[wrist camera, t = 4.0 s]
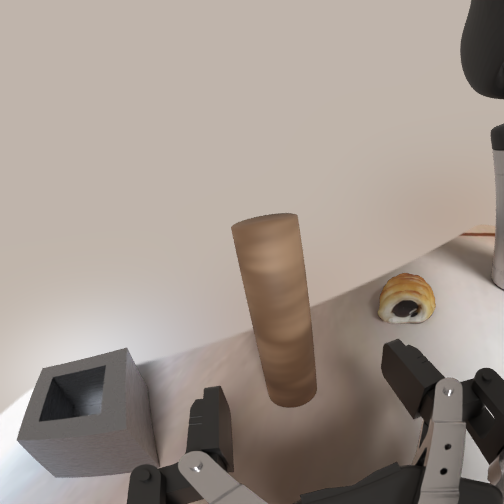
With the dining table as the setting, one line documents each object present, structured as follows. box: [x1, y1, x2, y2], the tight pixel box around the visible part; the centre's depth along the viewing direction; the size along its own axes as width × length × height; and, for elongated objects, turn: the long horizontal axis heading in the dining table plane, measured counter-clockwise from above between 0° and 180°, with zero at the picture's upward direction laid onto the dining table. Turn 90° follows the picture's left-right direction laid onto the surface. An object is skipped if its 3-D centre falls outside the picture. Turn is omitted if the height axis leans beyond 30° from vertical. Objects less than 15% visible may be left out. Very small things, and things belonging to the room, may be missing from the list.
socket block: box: [17, 348, 159, 477], centre depth 16 cm, size 10×10×5 cm
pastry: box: [378, 273, 436, 324], centre depth 27 cm, size 9×7×4 cm
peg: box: [231, 213, 317, 407], centre depth 18 cm, size 4×4×14 cm
